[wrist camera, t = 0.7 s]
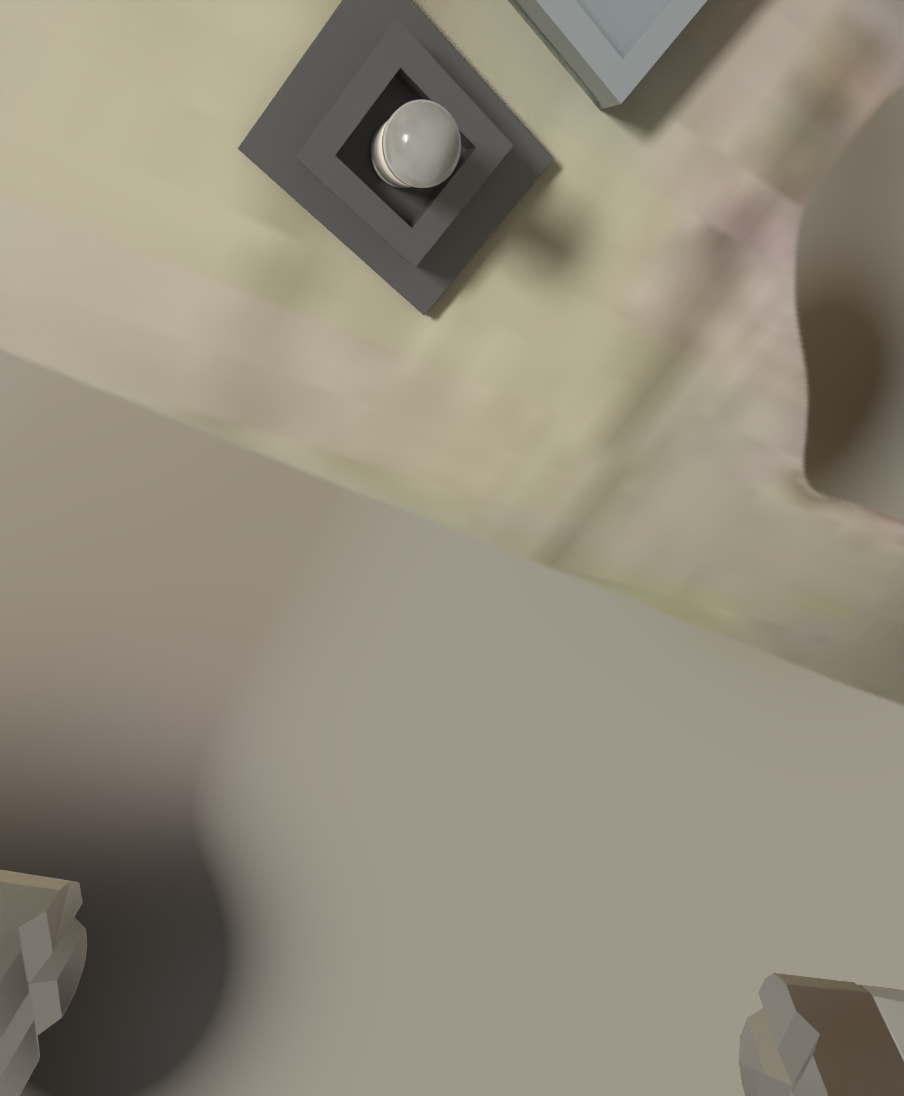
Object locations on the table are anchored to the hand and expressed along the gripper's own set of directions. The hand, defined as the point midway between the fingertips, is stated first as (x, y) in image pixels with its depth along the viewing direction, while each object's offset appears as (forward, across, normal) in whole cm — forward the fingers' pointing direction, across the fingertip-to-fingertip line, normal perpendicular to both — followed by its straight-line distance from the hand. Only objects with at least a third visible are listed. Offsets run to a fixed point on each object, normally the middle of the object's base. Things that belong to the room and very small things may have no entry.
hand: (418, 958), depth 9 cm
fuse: (+43, +6, -11) cm, 44 cm away
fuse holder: (+44, +6, -11) cm, 45 cm away
